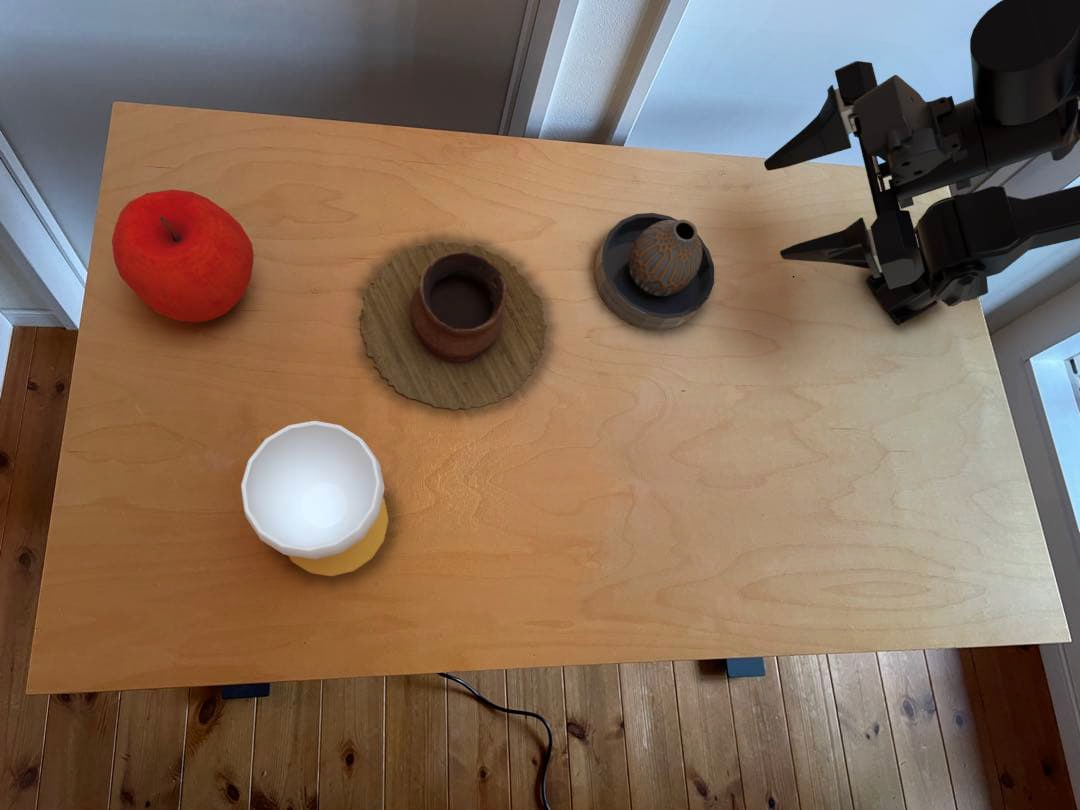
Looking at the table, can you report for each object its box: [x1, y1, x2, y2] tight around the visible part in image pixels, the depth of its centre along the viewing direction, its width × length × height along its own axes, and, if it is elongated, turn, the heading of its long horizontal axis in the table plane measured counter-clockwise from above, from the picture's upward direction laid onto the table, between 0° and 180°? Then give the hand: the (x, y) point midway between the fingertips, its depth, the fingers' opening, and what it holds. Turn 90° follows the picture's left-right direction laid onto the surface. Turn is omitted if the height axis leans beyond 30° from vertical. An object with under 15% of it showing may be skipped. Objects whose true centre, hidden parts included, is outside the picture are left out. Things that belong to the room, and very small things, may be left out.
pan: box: [594, 212, 715, 331], centre depth 70 cm, size 12×12×3 cm
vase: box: [629, 219, 702, 296], centre depth 67 cm, size 7×7×9 cm
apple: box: [111, 189, 254, 323], centre depth 56 cm, size 10×10×12 cm
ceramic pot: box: [358, 241, 548, 411], centre depth 62 cm, size 18×18×7 cm
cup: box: [240, 420, 389, 577], centre depth 50 cm, size 9×9×16 cm
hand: (773, 209), depth 60 cm, fingers open, 9 cm apart
